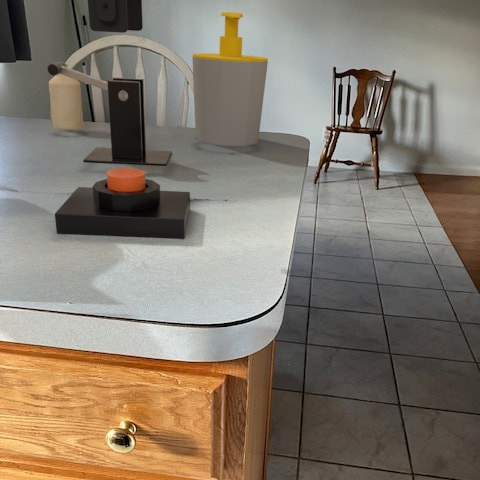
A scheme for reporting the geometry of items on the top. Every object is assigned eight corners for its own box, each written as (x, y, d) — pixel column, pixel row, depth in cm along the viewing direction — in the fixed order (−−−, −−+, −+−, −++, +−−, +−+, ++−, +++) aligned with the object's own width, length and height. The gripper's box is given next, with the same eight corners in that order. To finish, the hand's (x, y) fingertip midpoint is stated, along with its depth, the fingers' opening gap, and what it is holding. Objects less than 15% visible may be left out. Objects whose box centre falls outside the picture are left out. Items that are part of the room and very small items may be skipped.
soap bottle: (196, 151, 93) (198, 9, 83) (187, 136, 104) (188, 10, 94) (269, 152, 96) (280, 15, 85) (253, 137, 107) (261, 14, 96)
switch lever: (45, 76, 75) (48, 58, 74) (55, 73, 79) (58, 56, 78) (131, 107, 77) (135, 90, 76) (136, 102, 82) (140, 86, 80)
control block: (56, 234, 55) (52, 196, 53) (79, 205, 64) (76, 171, 62) (184, 239, 56) (184, 201, 54) (189, 209, 65) (190, 176, 63)
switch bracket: (83, 168, 79) (76, 80, 73) (96, 154, 87) (90, 74, 81) (166, 172, 80) (164, 85, 74) (171, 158, 88) (170, 79, 82)
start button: (104, 193, 56) (103, 176, 56) (111, 183, 60) (110, 167, 59) (143, 195, 57) (142, 178, 56) (147, 184, 60) (147, 169, 59)
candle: (49, 129, 103) (42, 72, 98) (76, 127, 106) (71, 72, 101) (61, 135, 99) (55, 75, 95) (89, 132, 103) (84, 75, 98)
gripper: (82, -181, 50) (97, 27, 59) (22, -268, 35) (53, 30, 44) (163, -175, 51) (166, 31, 59) (138, -259, 36) (147, 35, 44)
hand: (118, 30), depth 51 cm, fingers open, 9 cm apart
